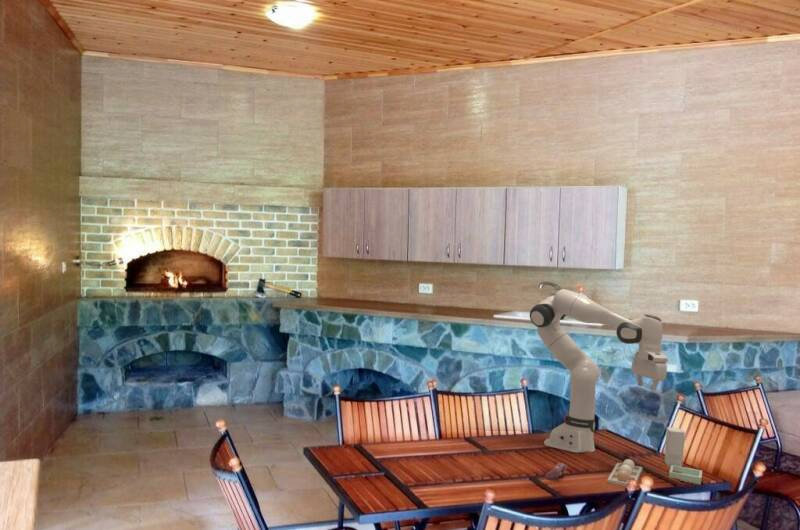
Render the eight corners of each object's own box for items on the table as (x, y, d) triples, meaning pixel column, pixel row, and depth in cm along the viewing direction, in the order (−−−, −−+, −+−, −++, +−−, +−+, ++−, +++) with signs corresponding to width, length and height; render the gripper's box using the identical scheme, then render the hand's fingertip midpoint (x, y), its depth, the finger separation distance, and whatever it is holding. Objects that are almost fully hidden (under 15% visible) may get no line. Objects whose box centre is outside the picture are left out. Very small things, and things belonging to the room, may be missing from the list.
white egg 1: (621, 470, 305) (622, 459, 305) (623, 468, 309) (624, 457, 309) (633, 473, 303) (634, 461, 303) (634, 470, 307) (635, 459, 307)
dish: (668, 479, 302) (669, 472, 302) (670, 472, 313) (671, 464, 313) (700, 485, 297) (701, 477, 297) (701, 477, 308) (702, 470, 308)
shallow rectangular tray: (606, 485, 287) (607, 479, 287) (616, 467, 313) (617, 462, 313) (634, 490, 283) (634, 484, 283) (642, 472, 309) (642, 467, 309)
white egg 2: (618, 476, 297) (619, 464, 296) (620, 473, 301) (621, 462, 301) (630, 478, 295) (631, 467, 295) (632, 475, 299) (633, 464, 299)
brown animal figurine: (553, 484, 287) (562, 470, 285) (543, 477, 289) (552, 462, 287) (562, 479, 296) (571, 465, 294) (552, 471, 298) (561, 457, 296)
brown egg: (615, 482, 288) (616, 470, 288) (617, 479, 293) (618, 467, 292) (627, 484, 287) (628, 472, 286) (629, 481, 291) (630, 469, 291)
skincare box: (682, 469, 319) (685, 432, 319) (665, 467, 320) (669, 430, 320) (679, 463, 327) (682, 428, 327) (663, 461, 328) (666, 426, 328)
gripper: (628, 350, 319) (626, 383, 320) (656, 358, 300) (653, 392, 300) (642, 351, 321) (639, 383, 321) (670, 358, 301) (667, 393, 301)
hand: (646, 388), depth 310 cm, fingers open, 8 cm apart
